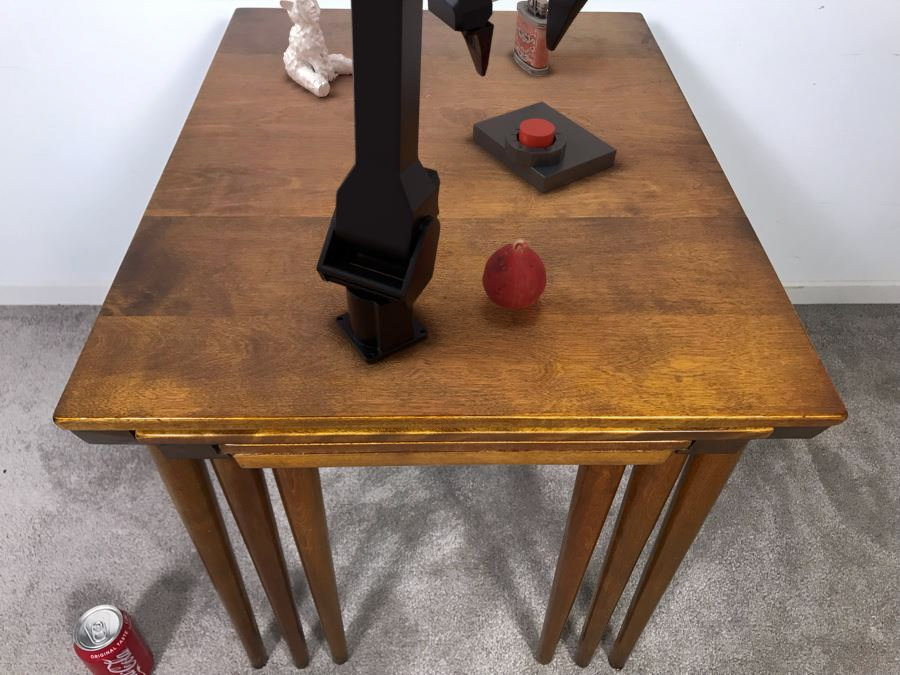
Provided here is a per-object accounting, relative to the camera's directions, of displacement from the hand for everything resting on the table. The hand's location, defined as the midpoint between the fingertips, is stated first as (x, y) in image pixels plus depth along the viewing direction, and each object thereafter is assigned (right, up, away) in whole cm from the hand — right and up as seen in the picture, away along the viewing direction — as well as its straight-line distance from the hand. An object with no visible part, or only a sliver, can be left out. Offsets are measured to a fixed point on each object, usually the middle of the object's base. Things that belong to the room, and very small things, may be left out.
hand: (516, 61), depth 78 cm
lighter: (+4, +10, +27) cm, 29 cm away
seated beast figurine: (-26, +6, +22) cm, 35 cm away
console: (+4, -7, +10) cm, 13 cm away
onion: (-1, -27, -9) cm, 29 cm away
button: (+3, -7, +5) cm, 9 cm away
